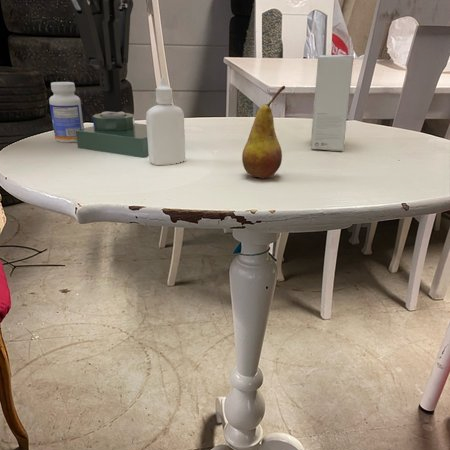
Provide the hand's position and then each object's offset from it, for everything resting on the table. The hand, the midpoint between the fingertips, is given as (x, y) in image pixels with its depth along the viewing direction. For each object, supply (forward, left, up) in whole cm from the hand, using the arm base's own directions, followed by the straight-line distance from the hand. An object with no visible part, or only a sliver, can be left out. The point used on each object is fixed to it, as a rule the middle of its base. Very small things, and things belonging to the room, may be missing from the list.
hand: (113, 111), depth 81 cm
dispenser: (+3, 0, -6) cm, 6 cm away
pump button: (0, 0, -2) cm, 2 cm away
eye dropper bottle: (+15, -6, -6) cm, 17 cm away
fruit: (+31, -6, -6) cm, 32 cm away
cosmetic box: (+33, +19, -6) cm, 38 cm away
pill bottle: (-10, -1, -6) cm, 12 cm away
